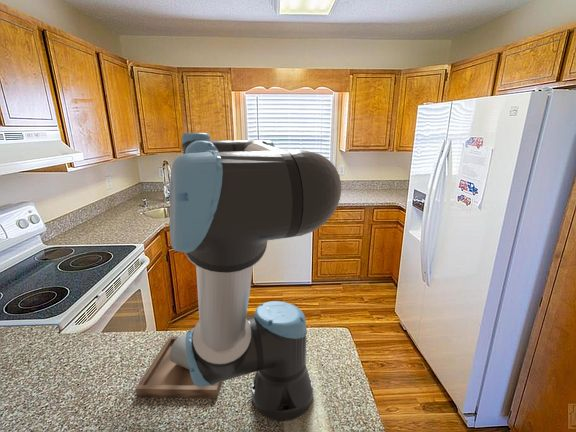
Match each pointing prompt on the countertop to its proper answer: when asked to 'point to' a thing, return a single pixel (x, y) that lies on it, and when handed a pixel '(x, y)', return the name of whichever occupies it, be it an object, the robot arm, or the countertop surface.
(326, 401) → the countertop surface
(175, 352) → the ceramic mug
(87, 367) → the countertop surface
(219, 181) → the robot arm
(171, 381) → the walnut tray
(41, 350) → the countertop surface
